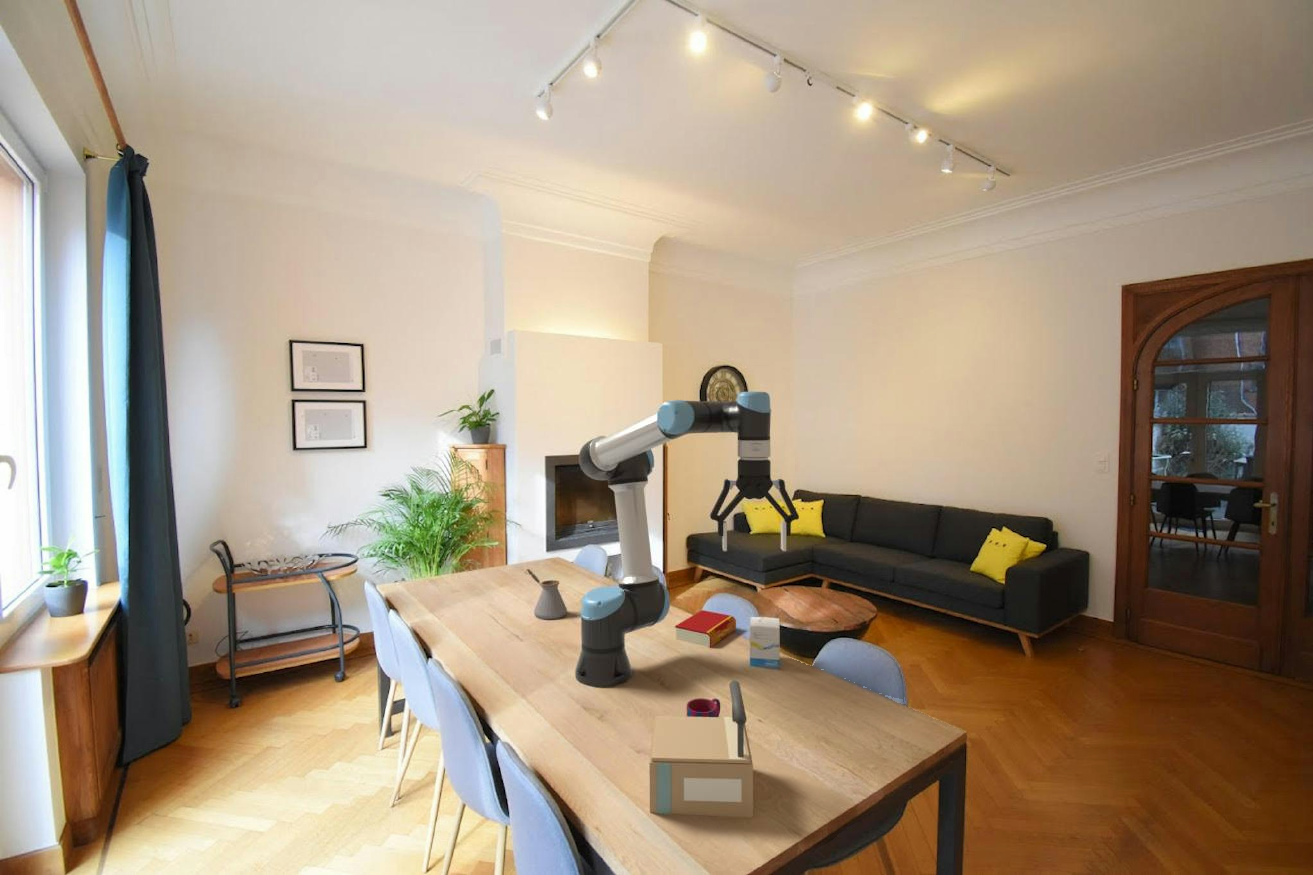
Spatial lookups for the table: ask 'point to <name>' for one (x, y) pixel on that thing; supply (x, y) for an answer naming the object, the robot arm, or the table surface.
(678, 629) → the book
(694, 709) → the mug
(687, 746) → the flap
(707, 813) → the carton
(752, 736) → the table surface
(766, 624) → the ink box
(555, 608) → the coffee pot
